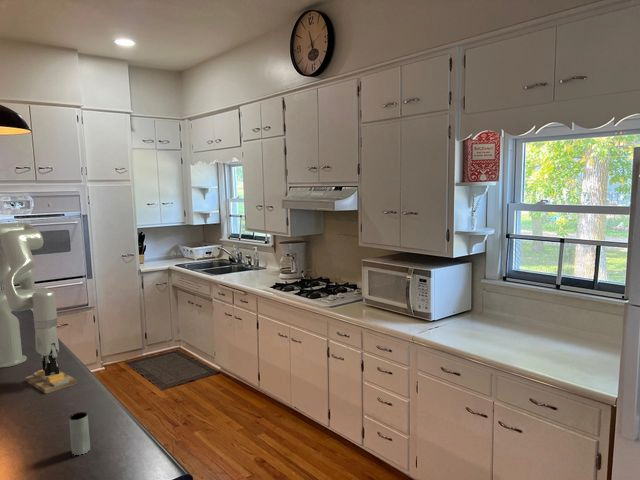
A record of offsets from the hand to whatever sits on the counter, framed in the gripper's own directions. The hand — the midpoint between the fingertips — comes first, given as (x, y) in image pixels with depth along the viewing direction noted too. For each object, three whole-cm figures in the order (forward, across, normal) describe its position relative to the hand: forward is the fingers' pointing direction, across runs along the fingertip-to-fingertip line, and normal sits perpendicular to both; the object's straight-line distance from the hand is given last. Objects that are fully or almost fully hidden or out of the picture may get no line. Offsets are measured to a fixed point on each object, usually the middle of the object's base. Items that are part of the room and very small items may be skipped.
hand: (49, 370), depth 177 cm
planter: (+5, +59, -15) cm, 61 cm away
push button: (+2, 0, 0) cm, 2 cm away
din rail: (+3, 0, 0) cm, 3 cm away
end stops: (+2, 0, 0) cm, 2 cm away
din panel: (+5, 0, 0) cm, 5 cm away
